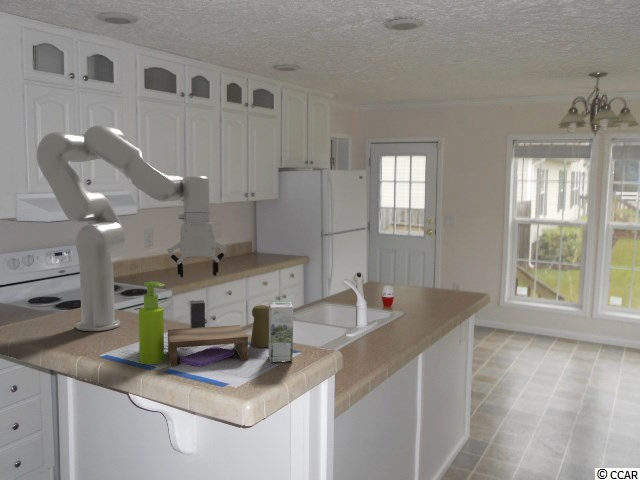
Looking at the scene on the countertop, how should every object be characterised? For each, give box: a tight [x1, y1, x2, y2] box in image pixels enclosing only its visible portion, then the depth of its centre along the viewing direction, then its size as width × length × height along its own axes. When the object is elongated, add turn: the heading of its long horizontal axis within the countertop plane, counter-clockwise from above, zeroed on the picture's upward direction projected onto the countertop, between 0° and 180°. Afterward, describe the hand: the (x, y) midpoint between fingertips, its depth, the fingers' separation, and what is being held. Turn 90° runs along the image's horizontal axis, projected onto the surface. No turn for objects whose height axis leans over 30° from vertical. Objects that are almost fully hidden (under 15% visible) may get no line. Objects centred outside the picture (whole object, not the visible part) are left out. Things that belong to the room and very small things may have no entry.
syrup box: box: [268, 301, 294, 364], centre depth 144 cm, size 6×6×14 cm
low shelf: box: [167, 324, 249, 367], centre depth 146 cm, size 12×19×6 cm, turn 108°
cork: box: [250, 304, 269, 348], centre depth 156 cm, size 6×6×11 cm
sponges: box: [180, 345, 235, 368], centre depth 145 cm, size 7×13×2 cm, turn 149°
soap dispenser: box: [138, 281, 166, 365], centre depth 141 cm, size 6×7×20 cm
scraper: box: [185, 299, 206, 329], centre depth 164 cm, size 16×7×9 cm, turn 18°
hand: (198, 276), depth 168 cm, fingers open, 9 cm apart
